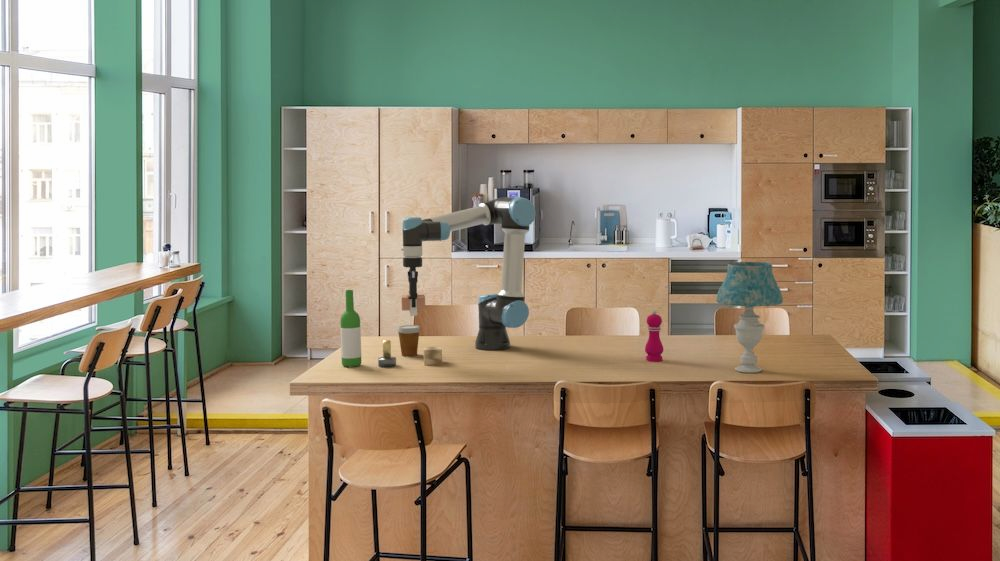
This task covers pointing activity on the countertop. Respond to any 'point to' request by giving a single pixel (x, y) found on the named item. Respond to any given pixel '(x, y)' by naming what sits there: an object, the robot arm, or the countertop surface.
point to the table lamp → (749, 304)
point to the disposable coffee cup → (409, 339)
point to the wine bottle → (350, 334)
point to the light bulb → (387, 356)
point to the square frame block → (406, 302)
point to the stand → (432, 355)
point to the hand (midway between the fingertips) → (413, 313)
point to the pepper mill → (654, 338)
